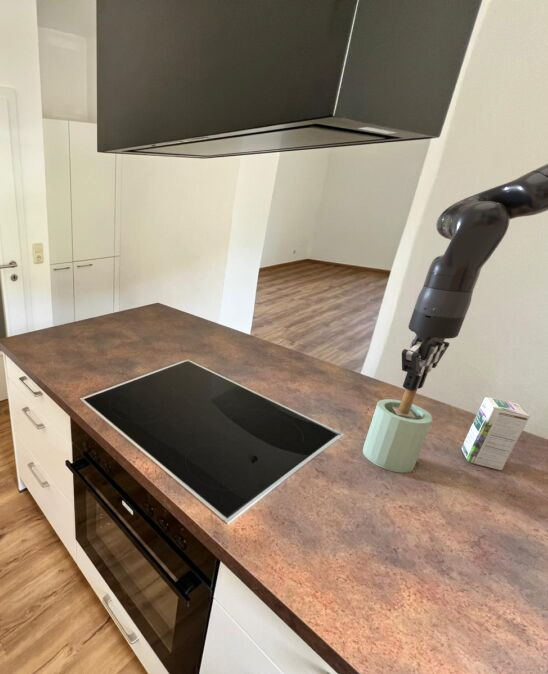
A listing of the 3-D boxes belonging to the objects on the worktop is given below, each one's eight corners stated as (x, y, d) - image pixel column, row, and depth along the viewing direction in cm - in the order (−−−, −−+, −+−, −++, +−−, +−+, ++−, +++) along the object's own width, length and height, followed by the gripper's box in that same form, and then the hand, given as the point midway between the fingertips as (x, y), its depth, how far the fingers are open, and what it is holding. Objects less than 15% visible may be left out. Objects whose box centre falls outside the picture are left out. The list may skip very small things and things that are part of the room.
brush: (403, 424, 81) (425, 364, 75) (409, 432, 78) (432, 371, 73) (386, 421, 82) (406, 362, 76) (392, 429, 79) (413, 368, 74)
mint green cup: (403, 449, 86) (420, 403, 81) (421, 477, 78) (441, 426, 73) (357, 442, 89) (371, 396, 84) (370, 467, 80) (386, 418, 76)
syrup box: (459, 448, 86) (482, 395, 81) (494, 456, 83) (520, 402, 78) (467, 462, 82) (492, 407, 76) (503, 471, 79) (532, 415, 73)
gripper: (434, 300, 76) (409, 373, 82) (398, 310, 70) (374, 387, 77) (481, 310, 70) (450, 388, 76) (446, 321, 64) (415, 404, 70)
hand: (412, 387), depth 76 cm, fingers closed on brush, 2 cm apart
